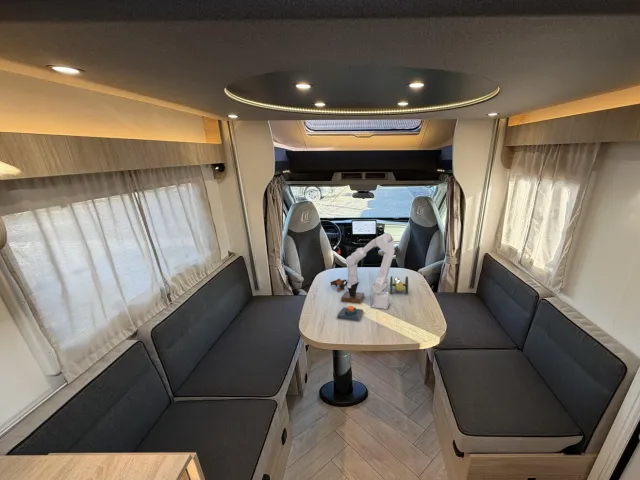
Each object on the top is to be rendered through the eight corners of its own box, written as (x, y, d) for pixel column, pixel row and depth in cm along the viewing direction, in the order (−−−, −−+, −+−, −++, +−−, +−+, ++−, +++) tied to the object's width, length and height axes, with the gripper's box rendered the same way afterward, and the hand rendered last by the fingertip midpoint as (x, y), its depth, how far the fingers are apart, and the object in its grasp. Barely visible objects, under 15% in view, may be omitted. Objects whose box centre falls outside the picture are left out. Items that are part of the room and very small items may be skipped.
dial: (351, 293, 197) (350, 287, 196) (357, 294, 196) (356, 288, 194) (348, 295, 193) (348, 290, 192) (354, 296, 192) (354, 290, 191)
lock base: (364, 297, 199) (364, 292, 198) (360, 303, 190) (360, 299, 189) (346, 295, 202) (346, 290, 201) (341, 301, 193) (341, 297, 192)
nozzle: (354, 309, 175) (354, 306, 175) (352, 311, 172) (352, 309, 172) (348, 308, 176) (348, 305, 176) (346, 311, 173) (346, 308, 172)
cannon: (388, 282, 222) (388, 267, 218) (404, 282, 222) (405, 267, 218) (390, 297, 199) (390, 280, 195) (408, 297, 199) (409, 280, 195)
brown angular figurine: (334, 293, 205) (329, 282, 205) (332, 294, 214) (328, 283, 214) (351, 286, 208) (346, 275, 208) (348, 287, 217) (343, 276, 218)
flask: (363, 312, 179) (363, 306, 177) (358, 321, 170) (358, 314, 168) (343, 310, 181) (343, 304, 180) (337, 318, 172) (337, 312, 171)
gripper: (350, 269, 197) (350, 289, 202) (342, 277, 184) (342, 298, 189) (360, 270, 195) (361, 290, 200) (353, 278, 182) (353, 299, 187)
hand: (352, 294), depth 194 cm, fingers closed on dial, 4 cm apart
